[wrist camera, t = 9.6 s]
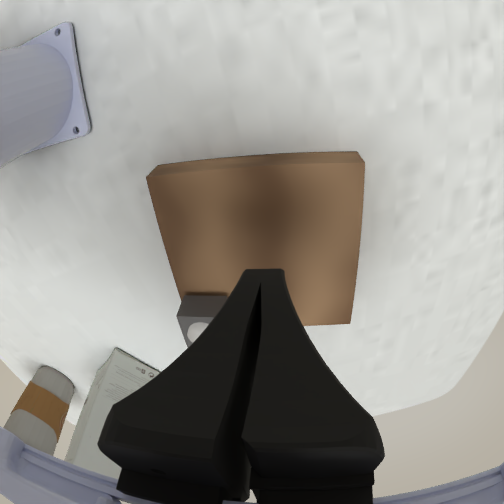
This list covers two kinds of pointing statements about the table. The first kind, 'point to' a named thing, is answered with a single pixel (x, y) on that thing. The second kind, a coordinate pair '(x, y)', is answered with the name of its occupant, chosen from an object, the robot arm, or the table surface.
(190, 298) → the gray rectangular bar
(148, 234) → the table surface
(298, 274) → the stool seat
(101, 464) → the skincare box
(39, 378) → the coffee cup
